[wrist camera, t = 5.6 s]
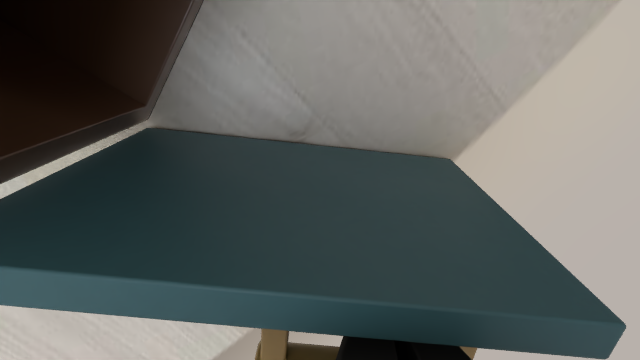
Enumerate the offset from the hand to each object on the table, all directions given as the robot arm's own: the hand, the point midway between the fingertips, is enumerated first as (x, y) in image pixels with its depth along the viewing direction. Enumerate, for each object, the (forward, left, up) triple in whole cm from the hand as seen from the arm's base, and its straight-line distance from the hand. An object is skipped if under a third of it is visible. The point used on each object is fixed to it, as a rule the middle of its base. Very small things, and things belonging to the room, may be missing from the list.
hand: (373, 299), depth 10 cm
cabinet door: (+2, +1, -5) cm, 6 cm away
